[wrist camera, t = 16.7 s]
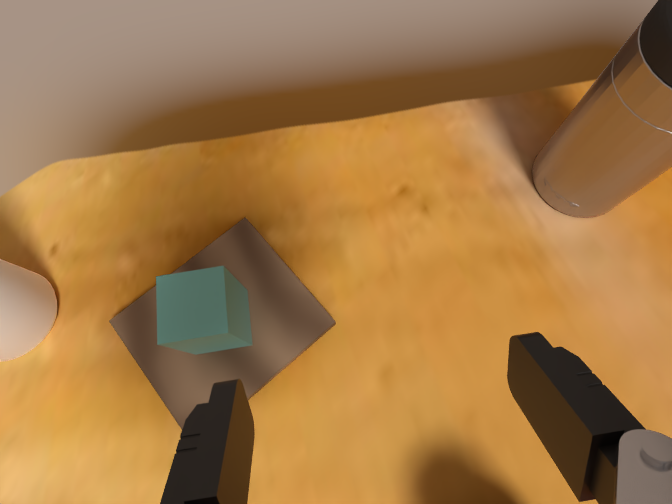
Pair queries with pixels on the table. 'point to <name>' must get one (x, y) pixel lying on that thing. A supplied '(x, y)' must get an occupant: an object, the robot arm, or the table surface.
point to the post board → (265, 317)
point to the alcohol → (24, 310)
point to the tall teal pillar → (202, 311)
